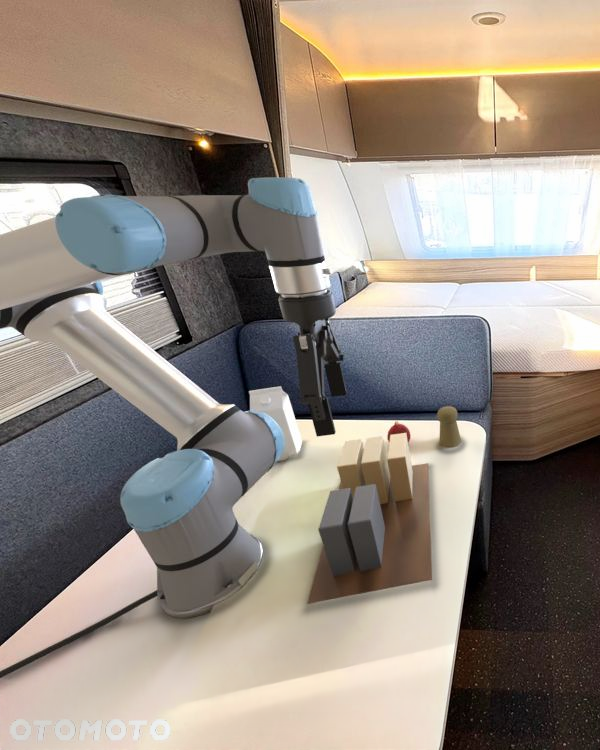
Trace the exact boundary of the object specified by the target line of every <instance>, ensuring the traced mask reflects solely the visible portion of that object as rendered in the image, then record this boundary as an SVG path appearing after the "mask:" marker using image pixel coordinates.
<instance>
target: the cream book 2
mask: <svg viewBox="0 0 600 750" xmlns="http://www.w3.org/2000/svg"><path fill="white" fill-rule="evenodd" d="M387 459H388V454H387V451H386V446H385V440H384V436H383V435H381V436H373V437H372V436H371V437H367V438H366V439H365V444H364V452H363V457H362V462H361V467H362V471H363V475H364V480H365V484H366V485H372V484H376V488H377V493H378V497H379V502H380V504H384V503H388V495H389V485H390V472H389V467H388V462H387Z"/></svg>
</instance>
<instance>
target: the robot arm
mask: <svg viewBox="0 0 600 750" xmlns="http://www.w3.org/2000/svg"><path fill="white" fill-rule="evenodd" d="M247 188H248V194H243V195H242V194H241V195H235V194H234V195H233V194H232V195H227V194H225V195H224V194H223V195H222V194H221V195H219V194H218V195H216V194H213V195H211V194H210V195H209V194H208V195H207V194H189V195H114V194H109V193H108V194H99V195H92V196H83V197H75V198H71V199H68V200H66V201H64V202H63V203H62V204H61V205H60V208H59V209H60V210H59V212H58V213H56V214H55V216H54V217H51V218H48V219H45V220H41V221H39V222H36V223H31V224H30V225H29V224H28V225H26V226H23V227H19V228H17V229H14V230H11V231H8V232H7V231H6V232H4V233H2V234H0V329H1V330H2V329H6V328H12V329H14V330H15V331H17V332H18V333H20V334H21V335H22V336H23V337H25V338H26V339H27V340H30V341H32V342H38V343H39V342H43V343H52V344H53V345H54V346H55V347H57V348H58V349H60V350H61V351H62V352H63V353H64V354H66V355H67V356H69V358H71V359H73V360H74V361H75V362H76V363H78V364H79V365H80V366H82V367H83V368H84V369H85V370H87V371H88V372H89V373H90V374H92V375H93V376H95V377H96V378H98V379H99V380H100V381H102V382H103V383H104V384H105V385H107V386H108V388H110V389H112V390H113V391H115V393H117V394H118V395H120V396H121V397H122V398H124V399H125V400H126V401H128V402H129V403H130V404H131V405H133V406H134V407H136V408H137V409H138V410H140V412H142V413H144V414H145V415H146V416H147V417H149V418H150V419H151V420H153V421H154V422H155V423H157V424H158V425H159V426H160V427H162V428H163V429H164V430H166V431H167V432H168V433H170V434H171V435H172V436H174V437H175V438H176V440H177V446H176V450H175V451H172V452H169V453H166V455H164V456H163V457H157V458H155V459H153V460H151V461H150V462H148V463H147V464H144V465H143V466H142V467H141V468H139V469H138V470H137V471H136V472H135V473H133V474H132V475H131V476H130V477H129V479H128V480H127V481H126V482H125V484H124V485H123V487H122V489H121V492H120V498H119V500H120V506H121V508H122V510H123V513H124V515H125V520H126V522H127V524H128V525H129V526H130V527H131V528H132V529H133V530H134V532H135V534H136V536H137V537H138V539H139V540H140V542H141V544H142V545H143V547H144V549H145V550H146V551H147V553H148V555H149V556H150V558H151V560H152V562H153V563H154V565H155V567H156V590H154V591H153V592H149V593H148V594H147V595H145V596H143V597H141V598H139V599H137V600H136V601H134V602H132V603H130V604H128V605H127V606H125V607H123V608H120V609H119V610H118V611H116V612H114V613H112V614H110V615H109V616H107V617H105V618H103V619H101V620H99V621H98V622H95V623H94V624H92V625H90V626H87V627H86V628H84V629H82V630H80V631H78V632H76V633H74V634H72V635H70V636H68V637H65V638H64V639H62V640H60V641H57V642H56V643H54V644H52V645H50V646H48V647H46V648H44V649H42V650H40V651H38V652H36V653H34V654H32V655H30V656H28V657H26V658H24V659H21V660H19V661H18V662H15V663H14V664H12V665H10V666H8V667H6V668H4V669H1V670H0V679H2V678H4V677H6V676H8V675H10V674H12V673H14V672H16V671H18V670H20V669H22V668H24V667H26V666H28V665H30V664H31V663H33V662H35V661H37V660H39V659H42V658H44V657H45V656H48V655H49V654H52V653H54V652H55V651H57V650H59V649H61V648H63V647H65V646H67V645H69V644H72V643H74V642H75V641H77V640H79V639H81V638H82V637H84V636H87V635H88V634H90V633H93V632H94V631H97V630H98V629H100V628H102V627H104V626H106V625H108V624H110V623H111V622H113V621H115V620H117V619H119V617H122V616H123V615H126V614H127V613H129V612H131V611H133V610H134V609H136V608H137V607H140V606H141V605H143V604H145V603H147V602H149V601H150V600H152V599H154V598H156V597H157V601H158V603H159V604H160V606H161V608H162V610H163V611H164V612H165V613H166V614H167V615H169V616H171V617H174V618H180V619H184V618H186V619H187V618H193V617H198V616H201V615H205V614H207V613H210V612H212V610H213V608H214V607H215V606H216V605H217V604H219V603H220V604H221V603H222V602H223V601H225V600H227V599H228V598H230V597H231V596H233V595H234V594H236V593H237V592H238V591H240V590H241V589H242V588H243V587H244V586H245V585H246V584H247V583H248V582H249V581H250V580H251V579H252V577H253V576H254V575H255V573H256V572H257V571H258V569H259V567H260V566H261V563H262V561H263V556H264V549H263V546H262V543H261V542H260V541H259V539H258V538H257V537H255V536H254V535H253V534H250V533H249V531H247V530H246V529H245V528H244V527H243V526H242V525H240V524H239V522H238V520H237V517H236V515H235V512H234V511H233V508H234V506H235V505H236V504H237V502H239V501H240V500H241V499H242V497H244V496H245V495H246V494H247V493H248V492H249V491H250V490H251V488H253V487H254V486H255V484H256V483H258V481H259V480H260V479H262V478H263V476H264V475H266V474H267V473H268V472H270V470H271V469H273V468H274V466H275V464H276V463H277V462H278V461H277V460H278V459H279V458H280V457H281V455H282V453H283V451H284V447H285V443H284V435H283V432H282V430H281V428H280V427H279V425H278V424H277V423H276V421H275V420H274V419H273V418H271V417H270V416H269V415H267V414H265V413H263V412H257V411H254V410H251V411H250V410H245V411H243V410H241V408H239V407H238V406H237V405H236V404H234V403H233V404H232V403H231V404H227V403H226V404H223V403H219V402H218V401H217V400H215V399H214V398H213V397H212V396H211V395H209V394H208V393H207V392H206V391H205V390H203V389H202V388H201V387H200V386H199V385H197V384H196V383H195V382H193V381H192V380H191V379H190V378H189V377H187V376H186V375H185V374H184V373H182V372H181V371H180V370H179V369H178V368H176V367H175V366H174V365H173V364H171V363H170V362H169V361H168V360H167V359H165V358H164V357H163V356H162V355H161V354H159V353H158V352H157V351H155V349H153V348H152V347H151V346H149V345H148V344H147V343H146V342H145V341H143V340H142V339H141V338H139V337H138V336H137V335H136V334H135V333H133V332H132V331H131V330H130V329H128V328H127V327H126V326H125V325H124V324H122V323H121V322H120V321H119V320H117V319H116V318H115V317H114V316H113V315H111V314H110V313H109V312H108V311H107V299H106V298H105V297H104V296H103V295H104V287H103V283H102V282H104V281H108V280H110V279H114V278H117V277H118V278H119V277H121V276H125V275H130V274H135V273H138V272H141V271H145V270H149V269H152V268H157V267H160V266H165V265H171V264H174V263H179V262H184V261H189V260H195V259H201V258H207V257H212V256H218V255H223V254H228V253H247V252H257V253H259V252H261V253H262V252H265V256H266V259H267V262H268V268H269V271H270V275H271V279H272V283H273V286H274V290H275V292H276V293H277V294H279V297H278V299H277V300H278V305H279V308H280V311H281V315H282V318H283V320H284V321H285V322H287V323H291V324H296V325H298V326H299V327H298V329H299V331H298V333H297V335H294V336H293V337H292V338H293V339H292V340H293V345H294V349H295V355H296V363H297V372H298V382H299V383H298V384H299V392H300V397H299V402H300V403H301V404H302V405H308V408H309V413H310V416H311V421H312V423H313V428H314V432H315V435H316V437H318V438H319V437H325V436H332V435H336V427H335V423H334V419H333V414H332V411H331V406H330V403H329V398H328V395H325V394H326V392H325V376H326V380H327V384H328V387H329V392H330V396H331V398H334V397H342V396H347V395H348V392H347V391H348V390H347V387H346V382H345V377H344V372H343V368H342V362H344V361H345V355H344V354H342V349H341V347H340V345H339V342H338V339H337V336H336V333H335V331H334V328H333V325H332V322H331V318H332V317H334V315H335V314H336V311H337V309H336V304H335V300H334V295H333V292H332V291H331V290H330V289H329V288H330V287H331V282H330V277H329V275H332V272H333V271H332V268H331V267H326V266H327V263H326V259H325V254H324V248H323V245H322V238H321V232H320V228H319V222H318V212H317V210H316V208H315V203H314V200H313V195H312V192H311V188H310V185H309V184H308V183H307V182H306V181H305V180H303V179H302V178H298V177H280V176H279V177H278V176H277V177H275V176H274V177H271V176H270V177H269V176H268V177H253V178H250V179H249V180H248V181H247ZM324 362H325V363H324ZM324 371H325V372H324Z"/></svg>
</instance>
